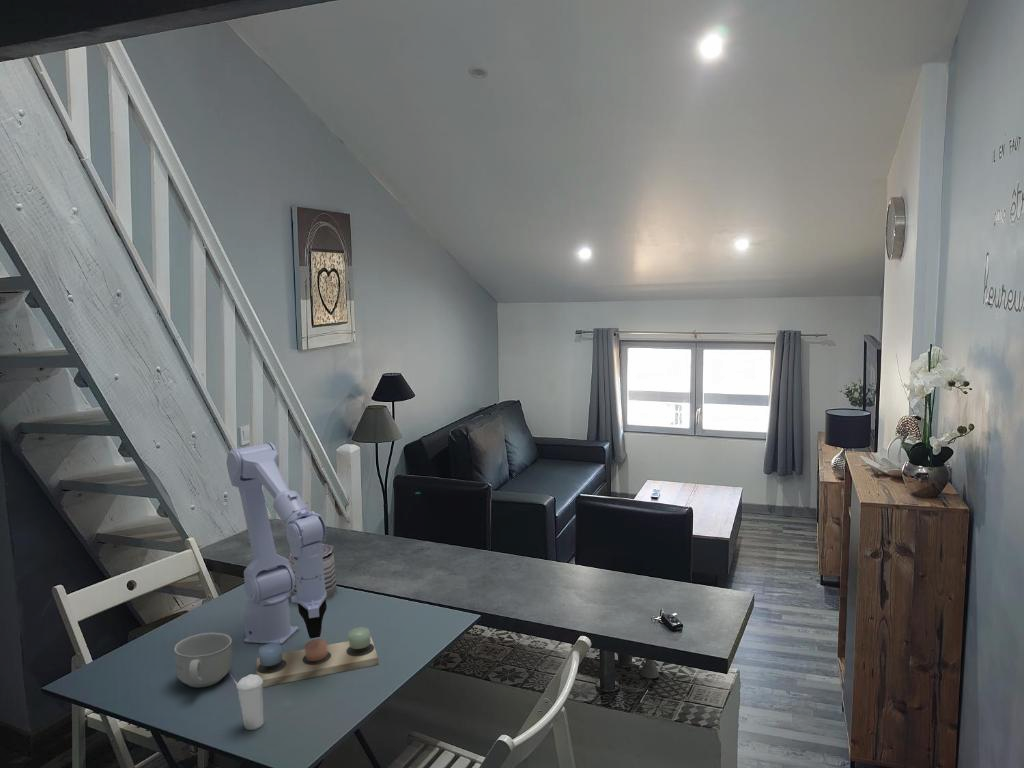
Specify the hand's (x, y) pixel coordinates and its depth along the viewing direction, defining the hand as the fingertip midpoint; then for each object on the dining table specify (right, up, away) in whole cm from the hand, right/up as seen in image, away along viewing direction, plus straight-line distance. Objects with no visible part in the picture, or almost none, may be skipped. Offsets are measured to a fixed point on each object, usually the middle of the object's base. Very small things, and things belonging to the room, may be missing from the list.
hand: (314, 636), depth 155 cm
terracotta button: (0, -4, +1) cm, 4 cm away
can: (-10, -2, +36) cm, 38 cm away
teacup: (-21, -8, -5) cm, 23 cm away
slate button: (-8, -4, -2) cm, 10 cm away
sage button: (+9, -3, +3) cm, 10 cm away
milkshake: (-6, -10, -20) cm, 23 cm away
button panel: (0, -6, +1) cm, 6 cm away
